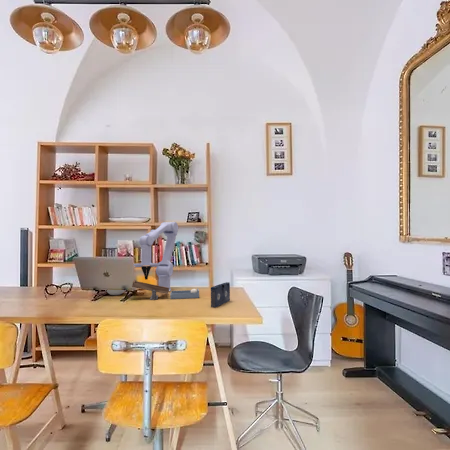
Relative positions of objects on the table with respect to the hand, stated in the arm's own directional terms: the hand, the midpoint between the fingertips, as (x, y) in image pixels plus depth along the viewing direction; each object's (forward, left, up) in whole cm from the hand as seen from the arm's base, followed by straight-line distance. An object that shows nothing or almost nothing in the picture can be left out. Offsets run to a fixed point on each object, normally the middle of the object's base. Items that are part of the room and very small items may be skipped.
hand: (146, 279), depth 202 cm
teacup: (-7, -20, -10) cm, 23 cm away
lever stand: (+9, +5, -9) cm, 14 cm away
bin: (+9, +22, -9) cm, 26 cm away
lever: (+5, +3, -5) cm, 7 cm away
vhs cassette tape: (+30, +40, -10) cm, 51 cm away
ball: (+9, +27, -7) cm, 30 cm away
